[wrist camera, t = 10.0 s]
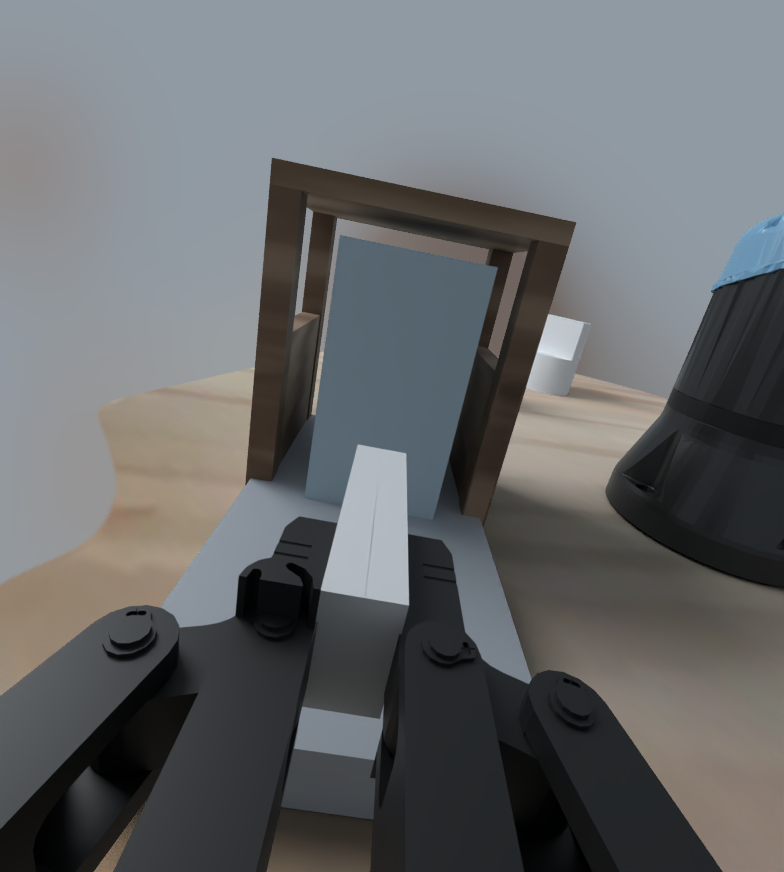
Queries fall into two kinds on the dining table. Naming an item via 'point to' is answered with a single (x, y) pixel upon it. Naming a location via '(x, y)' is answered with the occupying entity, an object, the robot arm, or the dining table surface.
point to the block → (396, 364)
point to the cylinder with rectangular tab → (558, 355)
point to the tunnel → (301, 335)
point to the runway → (257, 539)
